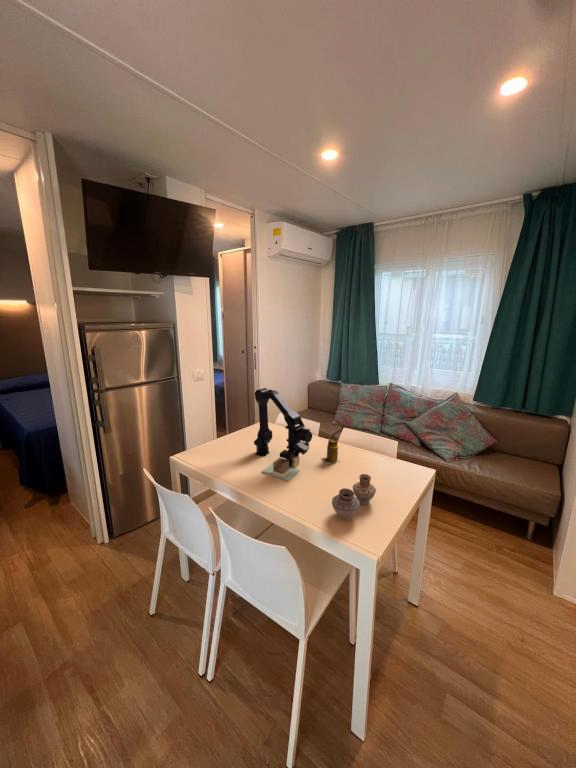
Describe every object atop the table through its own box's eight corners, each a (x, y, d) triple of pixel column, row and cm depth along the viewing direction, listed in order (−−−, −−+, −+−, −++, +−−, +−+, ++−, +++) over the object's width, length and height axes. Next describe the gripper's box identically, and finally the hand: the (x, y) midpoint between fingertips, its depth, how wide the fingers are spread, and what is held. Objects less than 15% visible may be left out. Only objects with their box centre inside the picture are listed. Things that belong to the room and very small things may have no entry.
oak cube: (286, 466, 164) (286, 458, 162) (291, 462, 168) (291, 454, 167) (294, 468, 161) (294, 460, 160) (299, 465, 165) (299, 456, 164)
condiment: (340, 461, 170) (341, 442, 167) (327, 464, 166) (328, 444, 163) (333, 456, 176) (334, 437, 173) (320, 459, 172) (321, 439, 170)
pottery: (379, 501, 134) (382, 477, 131) (349, 529, 116) (351, 501, 113) (357, 491, 141) (359, 468, 139) (325, 515, 124) (327, 489, 121)
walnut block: (273, 470, 157) (273, 462, 156) (279, 466, 162) (279, 457, 161) (282, 474, 154) (283, 465, 153) (288, 469, 159) (289, 460, 158)
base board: (262, 472, 157) (262, 470, 157) (274, 463, 167) (274, 461, 167) (288, 481, 149) (288, 479, 149) (299, 471, 159) (299, 469, 159)
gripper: (298, 447, 149) (297, 475, 152) (314, 434, 164) (313, 461, 168) (279, 442, 154) (279, 469, 158) (297, 430, 170) (296, 456, 173)
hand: (293, 464), depth 164 cm, fingers closed on oak cube, 5 cm apart
